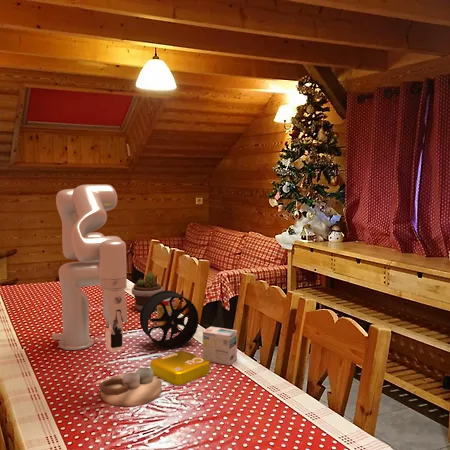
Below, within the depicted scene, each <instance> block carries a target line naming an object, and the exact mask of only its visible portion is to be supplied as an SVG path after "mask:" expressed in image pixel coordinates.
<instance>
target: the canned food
mask: <svg viewBox="0 0 450 450" xmlns="http://www.w3.org/2000/svg"><path fill="white" fill-rule="evenodd" d="M170 299H171V298H168V299H166V300H163V301H162V302H161V303H164V304H165V306H166V309H167V312H168V315H169V316H171V313H172V310H171V307H170V303H169V300H170ZM172 306H173V308H174V309H176V310H177V298H174V299H173V300H172ZM156 313H157V314H156V315H157V316H156V318H161V317H162V315H163V314H164V309H163V307H162V304H159V305H158V306H157V310H156ZM156 323H157V325H156V326H160V325H164V324H166V322H165V321H160V322H156Z"/></svg>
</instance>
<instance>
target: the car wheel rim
mask: <svg viewBox="0 0 450 450" xmlns="http://www.w3.org/2000/svg"><path fill="white" fill-rule="evenodd" d="M168 298H171V299H170V300H169V303H170V307H171V310H172V313H171V316H169V315H168V312H167V309H166V306H165V304H164V303H161V302H162V301H163V300H166V299H168ZM174 298H176V299H182V300H184V302H185V305H184V306H182V307H181V308H180V309H177V308H176V309H174V308H173V306H172V300H173V299H174ZM159 304H162V307H163V309H164V314H163V315H162V317H161V318H157V317H156V318H152V314H153V313H154V312H155V311H154V310H155V308H156V307H157V306H158V305H159ZM187 309H188V311H187V312H186V313H184V312H185V311H186V310H187ZM183 313H184V315H182V316H181V317H179V316H180V315H181V314H183ZM186 318H187V320H186ZM185 320H186V323H185ZM150 321H151V322H152V323H157V322H160V321H165V322H166V324H164V325H160V326H157V325H155V326H151V327H150V328H149V322H150ZM199 322H200V321H199V313H198V310H197V307H196V306H195V304H194V303H193V302H192V301H191V300H189V299H188V298H186V297H184V296H183V295H182V294H180V293H179V292H176V291H174V290H173V291H172V290H163V291H160V292H157V293H155V294H154V295H152V296H151V297H150V298H148V299H147V301H146V302H145V303H144V305H143V307H142V309H141V311H140V312H139V323H140V328H141V329H142V331H143V333H144V334H145V335H146V336H147V337H148V338H149V339H150V341H151V342H152V343H153V344H155V346H157V347H158V348H160V349H164V350H176V349H179V348H182V347H183V346H185V345H187V344H188V343H189V342H190V341H191V340H192V338H193V337H194V336H195V334H196V332H197V330H198V327H199ZM178 326H183V328H182V329H179V327H178ZM157 329H160V330H161V331H162V332H163V335H162V337H161V340H159V339H156V338H154V337H152V335H151V332H152V331H153V330H157ZM169 331H170V334H169V339H167V336H168V333H169ZM174 335H175V336H174Z"/></svg>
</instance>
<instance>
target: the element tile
mask: <svg viewBox="0 0 450 450" xmlns="http://www.w3.org/2000/svg"><path fill="white" fill-rule="evenodd" d="M210 364H211V362H210V361H209V360H207V359H204V358H203V356H202V357H201V356H199V355H196V354H193V353H191V352H189V351H187V350H179V351H178V350H177V351H175V352H172V353H169V354H166V355H163V356H161V357H158V358H154V359H152V360H151V361H150V365H149V366H150V369H152V370H153V376H155V377H157V378H158V379H161V380H163V381H165V382H167V383H170V384H171V385H174V386H183V385H186V384H188V383H190V382H193V381H195V380H197V379H200V378H203V377H205V376H207V375H209V374H210V372H211V371H210Z"/></svg>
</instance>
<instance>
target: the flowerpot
mask: <svg viewBox="0 0 450 450" xmlns="http://www.w3.org/2000/svg"><path fill="white" fill-rule="evenodd" d="M143 277H144V278H143ZM143 277H140V279H138V280H137V281H136V283H135V284H133V287H132V288H131V295H133V297H134V301H135V302H134V307H135V309H136V310H137V311H138V312H141V309H142V307H143V305H144V303H145V302H146V301H147V299H148V298H150V297H151V296H152V295H154V294H155V293H157V292H160V291H164V288H163V286H162V285H161V284H159V283H157V281H156V280H157V277H156V273H154V271H153V270H151V269H150V270H148V271H147V272H146V273H145V274H144V276H143ZM142 278H143V279H142ZM153 312H157V307H156V308H155V310H154V311H153Z"/></svg>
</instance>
